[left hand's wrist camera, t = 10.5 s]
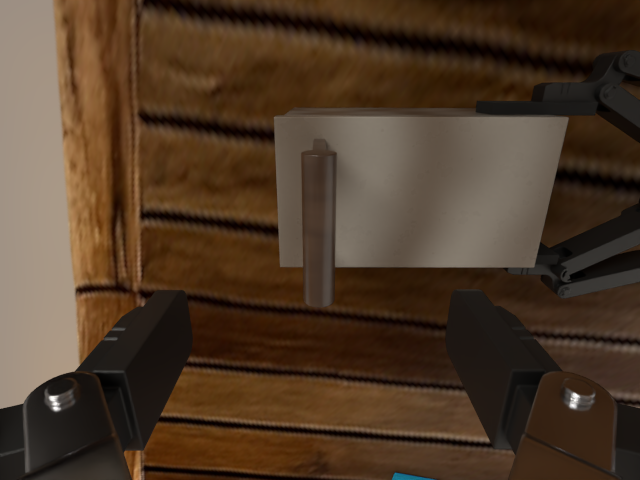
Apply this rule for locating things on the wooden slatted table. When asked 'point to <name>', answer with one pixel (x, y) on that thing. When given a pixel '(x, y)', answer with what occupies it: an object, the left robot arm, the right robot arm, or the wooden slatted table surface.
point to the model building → (408, 477)
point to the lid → (411, 192)
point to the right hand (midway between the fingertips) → (472, 185)
